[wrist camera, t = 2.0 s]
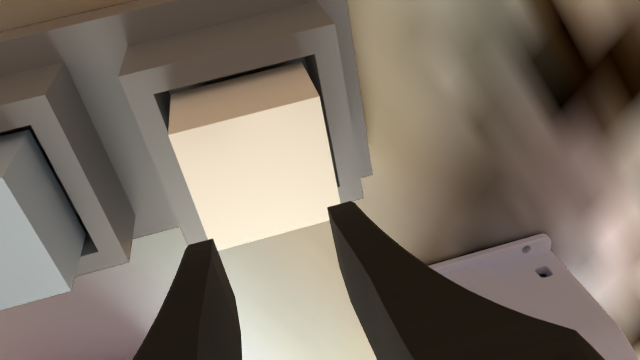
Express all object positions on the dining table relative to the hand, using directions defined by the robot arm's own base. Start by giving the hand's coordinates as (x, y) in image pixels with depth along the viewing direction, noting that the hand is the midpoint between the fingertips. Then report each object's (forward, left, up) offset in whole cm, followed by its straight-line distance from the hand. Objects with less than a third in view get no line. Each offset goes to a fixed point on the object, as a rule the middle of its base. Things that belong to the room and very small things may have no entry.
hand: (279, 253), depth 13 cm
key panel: (+5, 0, -10) cm, 11 cm away
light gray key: (+9, 0, -7) cm, 11 cm away
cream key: (0, 0, -7) cm, 7 cm away
